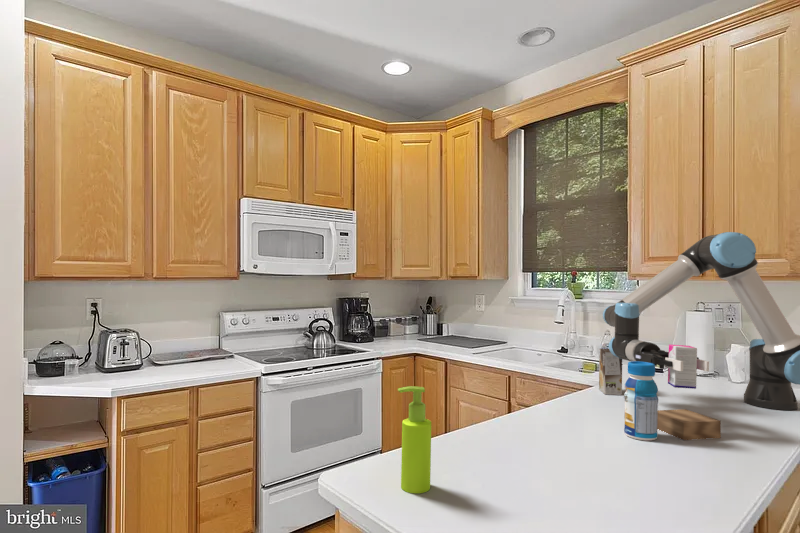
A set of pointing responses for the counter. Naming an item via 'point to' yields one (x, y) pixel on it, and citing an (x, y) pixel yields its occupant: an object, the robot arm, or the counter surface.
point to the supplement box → (689, 366)
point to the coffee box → (610, 373)
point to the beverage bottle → (641, 402)
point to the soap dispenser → (416, 445)
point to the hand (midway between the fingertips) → (694, 366)
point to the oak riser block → (688, 424)
